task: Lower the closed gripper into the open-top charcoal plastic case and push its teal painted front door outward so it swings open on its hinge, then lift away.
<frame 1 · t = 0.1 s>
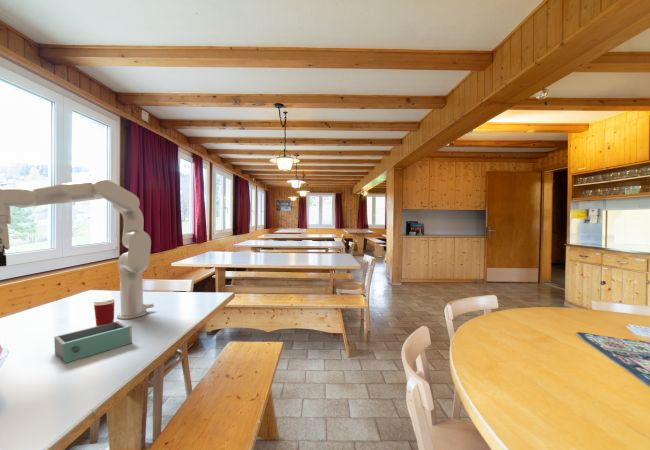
door: (100, 343, 111), point 3 cm above the table, hinge at 0.0°
case: (93, 347, 115), on the table
paper cup: (105, 332, 131), on the table
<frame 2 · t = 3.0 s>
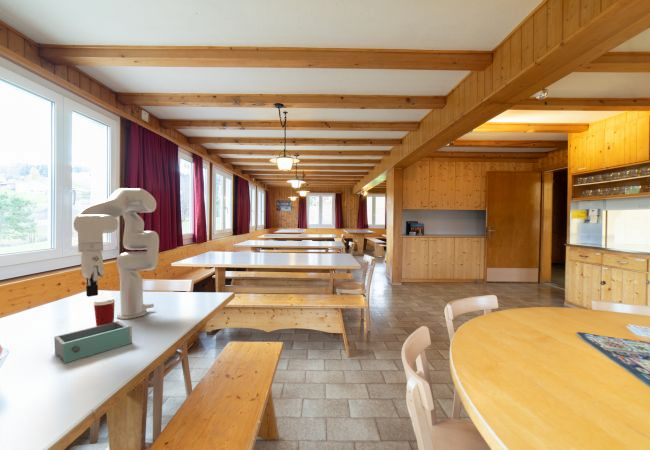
hand: (92, 295, 117), 19 cm above the table, tool pointing down, fingers closed
nothing on the table moved.
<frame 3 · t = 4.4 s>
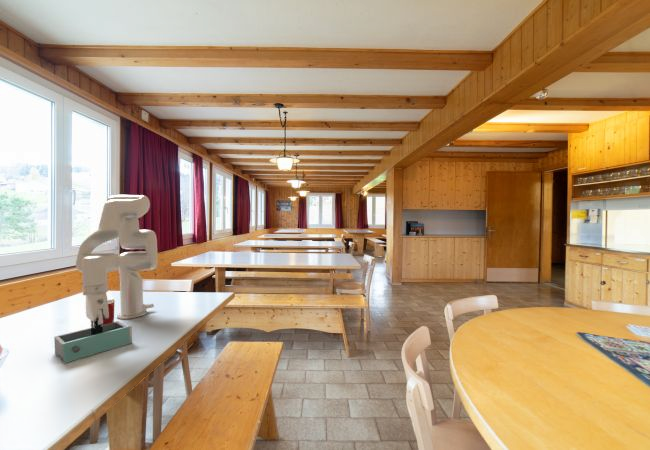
hand: (97, 337, 115), 4 cm above the table, tool pointing down, fingers closed
nothing on the table moved.
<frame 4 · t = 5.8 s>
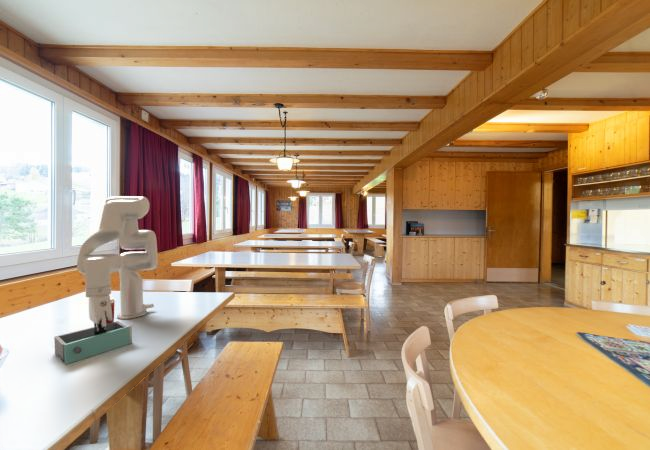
hand: (100, 340, 113), 4 cm above the table, tool pointing down, fingers closed
door: (101, 343, 110), point 3 cm above the table, hinge at 4.9°, touching gripper
everything else where it was.
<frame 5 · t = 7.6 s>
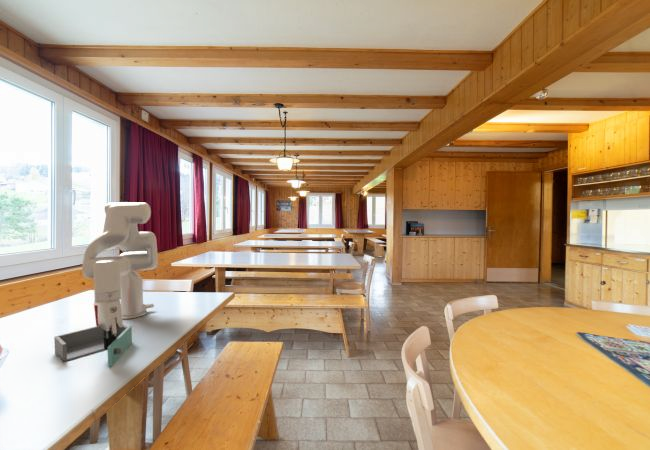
hand: (110, 347, 107), 3 cm above the table, tool pointing down, fingers closed
door: (123, 344, 110), point 3 cm above the table, hinge at 54.7°, touching gripper
everything else where it was.
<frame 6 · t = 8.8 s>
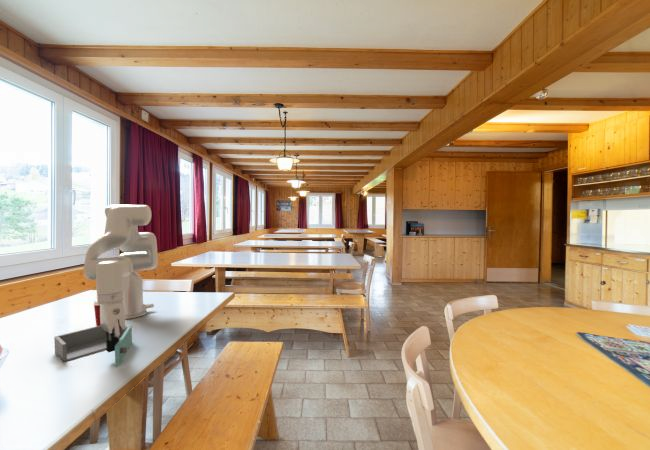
hand: (112, 350, 105), 3 cm above the table, tool pointing down, fingers closed
door: (126, 343, 110), point 3 cm above the table, hinge at 60.4°, touching gripper
everything else where it was.
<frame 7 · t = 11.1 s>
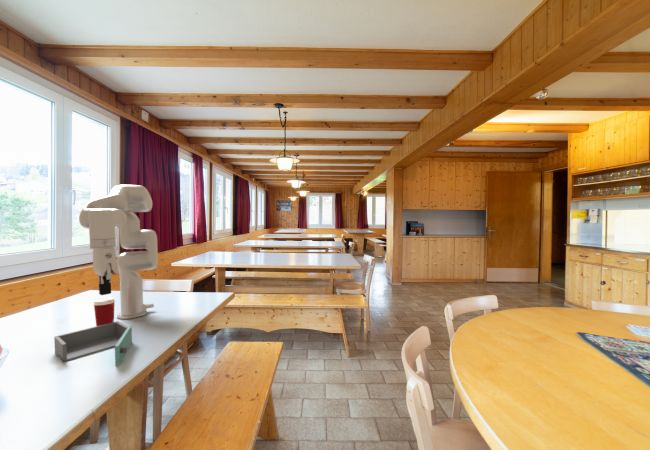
hand: (105, 293, 111), 21 cm above the table, tool pointing down, fingers closed
door: (126, 343, 110), point 3 cm above the table, hinge at 60.4°
everything else where it was.
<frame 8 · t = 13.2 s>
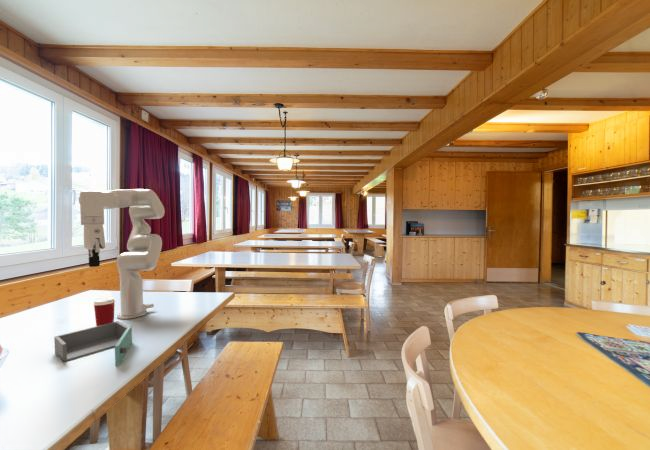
hand: (94, 266, 124), 29 cm above the table, tool pointing down, fingers closed
nothing on the table moved.
at the end: door at +60° (first picture: +0°); paper cup moved 0.2 cm from its start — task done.
